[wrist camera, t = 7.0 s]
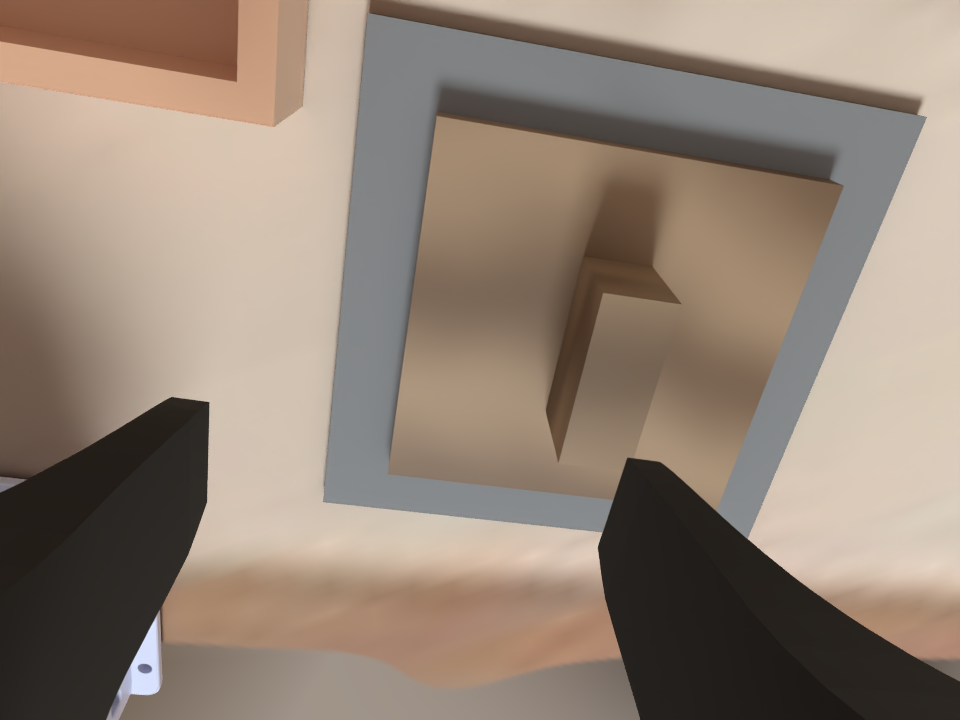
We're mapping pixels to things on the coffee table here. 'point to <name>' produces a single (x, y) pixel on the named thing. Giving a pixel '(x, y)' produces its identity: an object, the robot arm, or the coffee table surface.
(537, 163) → the lid
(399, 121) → the mat
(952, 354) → the coffee table surface
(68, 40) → the dish
